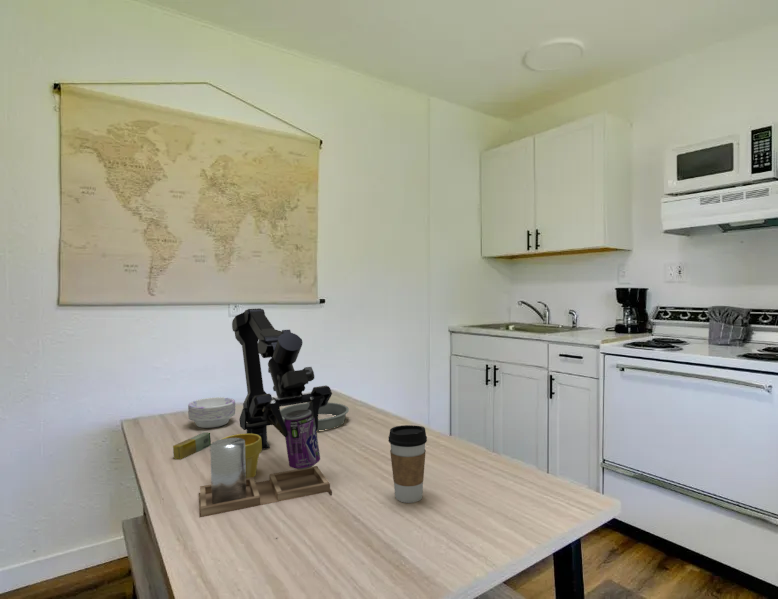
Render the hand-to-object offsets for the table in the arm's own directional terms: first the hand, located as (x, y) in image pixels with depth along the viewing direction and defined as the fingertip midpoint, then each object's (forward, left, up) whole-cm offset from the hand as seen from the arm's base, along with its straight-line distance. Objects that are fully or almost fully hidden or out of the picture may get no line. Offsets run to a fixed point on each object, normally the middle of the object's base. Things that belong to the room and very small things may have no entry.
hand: (301, 433), depth 102 cm
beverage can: (-1, +1, -8) cm, 8 cm away
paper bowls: (-66, -17, -14) cm, 70 cm away
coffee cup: (+13, +20, -13) cm, 28 cm away
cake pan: (-52, +15, -14) cm, 56 cm away
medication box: (-39, -23, -14) cm, 48 cm away
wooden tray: (-1, -8, -13) cm, 16 cm away
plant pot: (-13, -12, -13) cm, 22 cm away
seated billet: (-1, -16, -12) cm, 20 cm away
